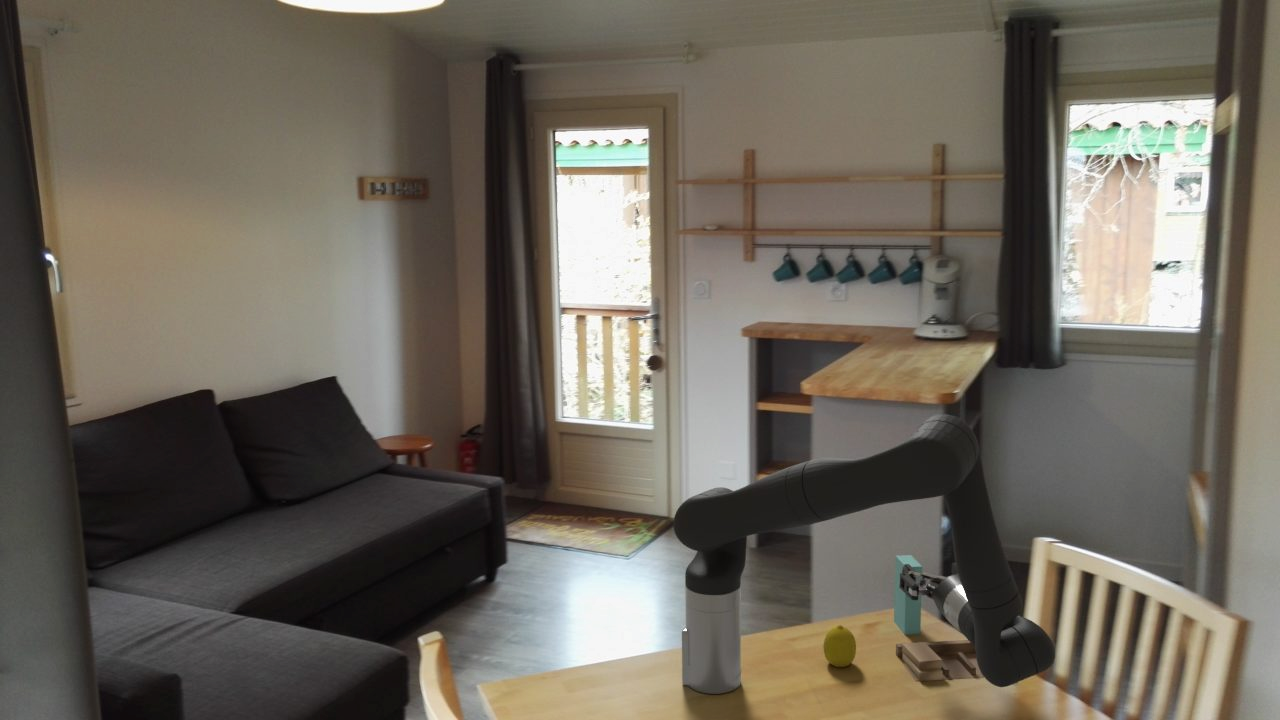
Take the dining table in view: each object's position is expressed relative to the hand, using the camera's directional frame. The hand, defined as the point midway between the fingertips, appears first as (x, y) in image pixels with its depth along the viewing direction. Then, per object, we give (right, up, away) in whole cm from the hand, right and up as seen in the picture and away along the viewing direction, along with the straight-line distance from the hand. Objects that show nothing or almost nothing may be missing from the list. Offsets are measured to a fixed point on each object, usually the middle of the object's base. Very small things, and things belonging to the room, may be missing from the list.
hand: (929, 568), depth 175 cm
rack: (+3, -17, -2) cm, 17 cm away
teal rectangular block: (0, -15, +13) cm, 20 cm away
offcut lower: (-2, -16, -4) cm, 17 cm away
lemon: (-16, -17, -1) cm, 24 cm away
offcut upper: (-2, -15, -3) cm, 15 cm away
